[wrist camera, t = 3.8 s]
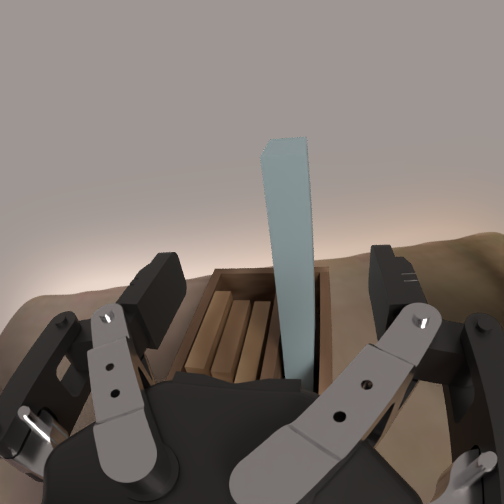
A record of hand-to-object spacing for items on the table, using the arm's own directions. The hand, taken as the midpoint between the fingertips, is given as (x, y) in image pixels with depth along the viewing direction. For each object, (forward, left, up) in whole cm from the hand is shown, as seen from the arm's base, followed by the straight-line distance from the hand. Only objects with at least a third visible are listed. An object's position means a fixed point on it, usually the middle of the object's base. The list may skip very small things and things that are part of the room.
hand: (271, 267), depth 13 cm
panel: (0, +13, -24) cm, 27 cm away
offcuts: (-7, +13, -24) cm, 28 cm away
